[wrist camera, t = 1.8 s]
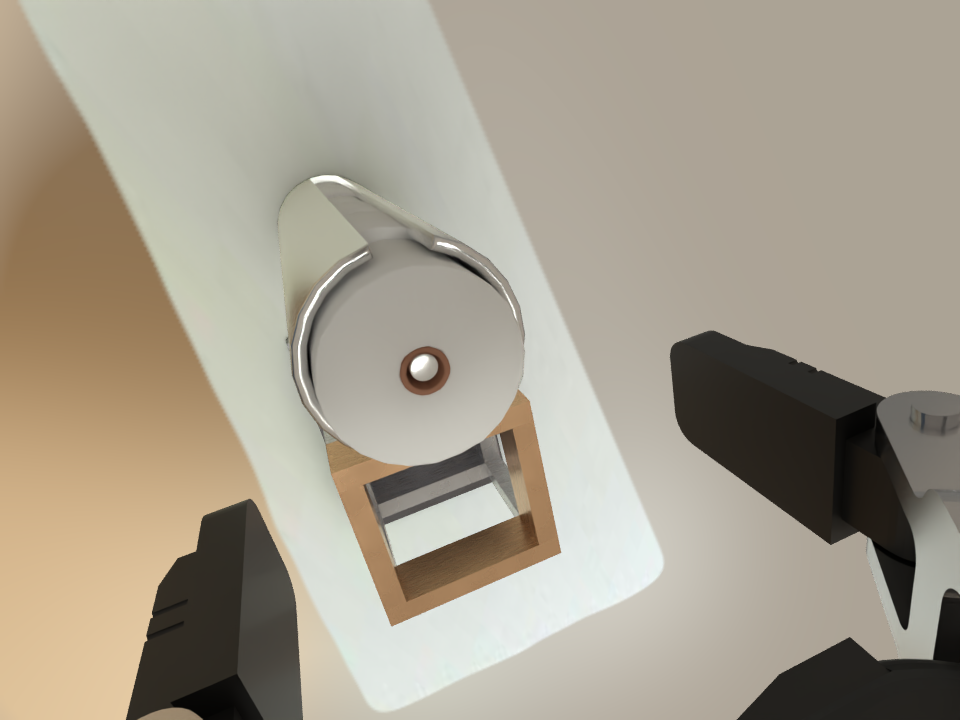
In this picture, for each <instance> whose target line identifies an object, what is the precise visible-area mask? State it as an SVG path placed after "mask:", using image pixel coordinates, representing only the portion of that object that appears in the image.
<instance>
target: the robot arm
mask: <svg viewBox="0 0 960 720" xmlns="http://www.w3.org/2000/svg"><path fill="white" fill-rule="evenodd" d="M670 360H671V371H672V382H673V393H674V404H675V413H676V418H677V422H678V425H679V427H680V429H681V431H682V433H683V434H684V435H685V437H686V438H687V439H688V440H689V441H690V442H691V443H692V444H693V445H694V446H696V447H697V448H699V449H700V450H701V451H703V452H704V453H705V454H707V455H708V456H710V457H711V458H712V459H714V460H715V461H716V462H718V463H719V464H721V465H722V466H723V467H725V468H726V469H727V470H729V471H730V472H731V473H733V474H734V475H736V476H737V477H739V478H740V479H741V480H742V481H744V482H745V483H747V484H748V485H749V486H751V487H752V488H753V489H755V490H756V491H758V492H759V493H760V494H762V495H763V496H764V497H766V498H767V499H769V500H770V501H771V502H773V503H774V504H775V505H777V506H778V507H780V508H781V509H782V510H784V511H785V512H786V513H788V514H789V515H790V516H792V517H793V518H795V519H796V520H797V521H799V522H800V523H801V524H803V525H804V526H806V527H807V528H808V529H810V530H811V531H812V532H814V533H815V534H816V535H818V536H819V537H821V538H822V539H823V540H825V541H826V542H827V543H829V544H830V545H832V544H834V543H836V542H838V541H840V540H842V539H844V538H846V537H848V536H850V535H852V534H855V533H857V532H859V531H860V532H861V533H862V534H864V535H866V536H867V546H866V554H867V558H868V561H869V564H870V567H871V570H872V573H873V576H874V580H875V583H876V586H877V589H878V592H879V595H880V598H881V601H882V605H883V608H884V611H885V614H886V617H887V620H888V623H889V626H890V629H891V632H892V636H893V638H894V642H895V645H896V648H897V652H898V656H899V659H892V660H881V661H877V660H876V659H875V658H873V657H872V656H871V655H870V654H869V653H868V652H867V651H865V650H864V649H863V648H862V647H861V646H860V645H858V644H857V643H856V642H855V641H854V640H853V639H852V638H850V637H849V638H847V639H846V640H844V641H842V642H840V643H838V644H836V645H834V646H832V647H830V648H828V649H827V650H825V651H823V652H821V653H819V654H817V655H815V656H813V657H811V658H809V659H808V660H806V661H804V662H802V663H800V664H798V665H796V666H794V667H792V668H790V669H789V670H787V671H785V672H783V673H781V674H779V675H778V676H777V678H776V679H775V680H774V681H773V682H772V683H771V684H770V685H769V686H768V687H767V688H766V689H765V690H764V691H763V693H762V694H761V695H760V696H759V697H758V698H757V699H756V700H755V701H754V702H753V703H752V704H751V705H750V706H749V707H748V708H747V709H746V710H745V712H744V713H743V714H742V715H741V716H740V717H739V718H738V719H737V720H960V395H956V394H951V393H945V392H938V391H910V392H903V393H898V394H895V395H892V396H889V397H888V398H885V397H882V396H880V395H877V394H876V393H873V392H871V391H869V390H866V389H864V388H862V387H859V386H857V385H854V384H852V383H850V382H847V381H845V380H843V379H840V378H838V377H836V376H833V375H831V374H829V373H826V372H824V371H817V370H816V368H814V367H812V366H810V365H808V364H805V363H803V362H800V363H798V362H797V360H795V359H794V358H791V357H789V356H786V355H784V354H782V353H779V352H777V351H775V350H772V349H766V348H760V347H754V346H749V345H745V344H743V343H741V342H738V341H736V340H734V339H732V338H729V337H727V336H725V335H722V334H720V333H718V332H716V331H707V332H704V333H701V334H699V335H696V336H693V337H691V338H688V339H685V340H682V341H680V342H677V343H675V344H674V345H673V346H672V348H671V353H670ZM152 615H153V618H151V619H150V623H149V627H148V631H147V635H146V636H147V641H146V642H145V643H144V648H143V652H142V656H141V660H140V664H139V668H138V673H137V676H136V681H135V685H134V689H133V693H132V697H131V701H130V705H129V709H128V714H127V717H126V720H303V713H302V696H301V679H300V663H299V647H298V631H297V630H298V629H297V613H296V601H295V595H294V591H293V587H292V583H291V580H290V577H289V574H288V571H287V569H286V567H285V564H284V562H283V560H282V558H281V556H280V554H279V552H278V550H277V548H276V545H275V543H274V541H273V539H272V537H271V535H270V533H269V531H268V529H267V526H266V524H265V522H264V520H263V518H262V516H261V514H260V512H259V510H258V508H257V506H256V504H255V503H254V502H253V501H252V500H251V499H248V500H245V501H242V502H240V503H237V504H234V505H231V506H229V507H226V508H224V509H221V510H218V511H216V512H213V513H210V514H207V515H205V516H204V517H203V518H202V521H201V527H200V533H199V539H198V545H197V550H196V552H193V553H191V554H188V555H185V556H182V557H180V558H178V559H177V560H176V562H175V563H174V565H173V566H172V567H171V569H170V570H169V572H168V573H167V575H166V576H165V577H164V579H163V580H162V582H161V583H160V585H159V586H158V590H157V594H156V598H155V602H154V606H153V611H152Z"/></svg>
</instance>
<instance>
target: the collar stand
mask: <svg viewBox="0 0 960 720" xmlns="http://www.w3.org/2000/svg"><path fill="white" fill-rule="evenodd" d="M286 343H287V346H288V349H289V340H288V339H286ZM289 351H290V350H289ZM318 426H319V425H318ZM319 428H320V427H319ZM320 431H321V433H322V436H323V438H324V441H325V444H326V449H327V454H328V460H329V465H330V470H331V475H332V477H333V480H334V482H335V485H336V488H337V490H338V493H339V495H340V498H341V500H342V503H343V505H344V508H345V510H346V513H347V515H348V518H349V520H350V523H351V525H352V528H353V530H354V533H355V536H356V538H357V541H358V543H359V546H360V548H361V551H362V553H363V556H364V558H365V561H366V563H367V566H368V568H369V571H370V573H371V576H372V579H373V581H374V584H375V586H376V589H377V591H378V594H379V596H380V599H381V601H382V604H383V606H384V609H385V611H386V614H387V616H388V619H389V621H390V624H391V626H394V625H396V624H398V623H401V622H403V621H405V620H408V619H410V618H412V617H414V616H417V615H419V614H421V613H424V612H426V611H428V610H431V609H433V608H435V607H437V606H440V605H442V604H444V603H447V602H449V601H451V600H454V599H456V598H458V597H460V596H463V595H465V594H467V593H470V592H472V591H474V590H477V589H479V588H481V587H483V586H486V585H488V584H490V583H493V582H495V581H497V580H500V579H502V578H504V577H506V576H509V575H511V574H513V573H516V572H518V571H520V570H523V569H525V568H527V567H529V566H532V565H534V564H536V563H539V562H541V561H543V560H546V559H548V558H550V557H552V556H555V555H557V554H559V553H561V550H560V545H559V540H558V535H557V531H556V526H555V521H554V516H553V511H552V507H551V502H550V497H549V492H548V487H547V483H546V478H545V473H544V468H543V463H542V459H541V454H540V449H539V444H538V439H537V435H536V430H535V425H534V420H533V415H532V411H531V406H530V401H529V400H528V399H527V398H526V397H525V396H524V395H523V394H522V393H521V392H520V391H519V390H517V393H516V396H515V398H514V400H513V402H512V404H511V406H510V407H509V409H508V411H507V412H506V414H505V416H504V417H503V419H502V421H501V422H500V423H499V424H498V425H497V426H496V427H495V428H494V430H493V431H492V432H491V433H490V434H489V435H488V436H487V437H486V438H485V439H484V440H483V441H481V442H480V443H478V444H476V445H474V446H473V447H471V448H469V449H468V450H466V451H464V452H462V453H461V454H458V455H456V456H453V457H450V458H448V459H445V460H443V461H440V462H438V463H432V464H424V465H416V466H404V465H396V464H387V463H383V462H380V461H378V460H375V459H372V458H370V457H367V456H364V455H362V454H360V453H359V452H357V451H356V450H354V449H352V448H349V447H347V446H344V445H343V444H341V443H340V442H339V441H337V440H336V439H335V438H333V437H332V436H331V435H329V434H328V433H327V432H325V431H324V430H323V429H321V428H320ZM499 433H500V436H501V441H502V445H503V449H504V453H505V457H506V462H507V466H508V467H507V466H506V464H505V463H504V461H503V460H502V456H501V452H500V447H499V443H498V439H497V434H499ZM491 482H492V483H493V484H494V486H495V487H496V489H497V491H498V492H499V494H500V495H501V497H502V498H503V500H504V501H505V503H506V505H507V506H508V508H509V509H510V511H511V512H512V514H513V515H514V518H511V519H509V520H507V521H504V522H502V523H499V524H497V525H494V526H492V527H490V528H487V529H485V530H482V531H480V532H478V533H475V534H473V535H470V536H468V537H465V538H463V539H461V540H458V541H456V542H453V543H451V544H448V545H446V546H444V547H441V548H439V549H436V550H434V551H432V552H429V553H427V554H424V555H422V556H419V557H417V558H415V559H412V560H410V561H407V562H405V563H402V564H400V565H398V566H397V565H396V561H395V558H394V555H393V551H392V548H391V545H390V541H389V538H388V535H387V531H386V528H385V524H388V523H390V522H393V521H395V520H398V519H400V518H403V517H405V516H408V515H410V514H413V513H415V512H418V511H420V510H423V509H425V508H428V507H430V506H433V505H436V504H438V503H441V502H443V501H446V500H448V499H451V498H453V497H456V496H458V495H461V494H463V493H466V492H468V491H471V490H473V489H476V488H478V487H481V486H483V485H486V484H489V483H491Z"/></svg>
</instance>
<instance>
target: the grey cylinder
mask: <svg viewBox="0 0 960 720" xmlns="http://www.w3.org/2000/svg"><path fill="white" fill-rule="evenodd" d="M277 225H278V239H279V249H280V259H281V269H282V279H283V289H284V300H285V310H286V320H287V330H288V340H289V350H290V360H291V370H292V377H293V380H294V382H295V385H296V388H297V391H298V393H299V396H300V399H301V401H302V404H303V405H304V407H305V408H306V409H307V411H308V412H309V413H310V415H311V416H312V417H313V419H314V420H315V421H316V423H317V424H318V425H319V427H320V428H321V429H323V430H324V431H325V432H327V433H328V434H329V435H331V436H332V437H333V438H335V439H336V440H337V441H339V442H340V443H341V444H343V445H344V446H347V447H349V448H352V449H354V450H356V451H357V452H359V453H360V454H362V455H364V456H367V457H370V458H372V459H375V460H378V461H380V462H383V463H387V464H396V465H404V466H416V465H424V464H432V463H438V462H440V461H443V460H445V459H448V458H450V457H453V456H456V455H458V454H461V453H462V452H464V451H466V450H468V449H469V448H471V447H473V446H474V445H476V444H478V443H480V442H481V441H483V440H484V439H485V438H486V437H487V436H488V435H489V434H490V433H491V432H492V431H493V430H494V428H495V427H496V426H497V425H498V424H499V423H500V422H501V421H502V419H503V417H504V416H505V414H506V412H507V411H508V409H509V407H510V406H511V404H512V402H513V400H514V398H515V396H516V393H517V390H518V388H519V385H520V383H521V380H522V377H523V368H524V355H525V350H524V337H525V332H524V327H523V321H522V315H521V310H520V306H519V303H518V301H517V299H516V297H515V295H514V293H513V291H512V289H511V287H510V285H509V283H508V281H507V279H506V278H505V277H504V276H503V275H502V274H501V273H500V271H499V270H498V269H497V268H496V267H495V266H494V265H493V264H492V263H491V261H490V260H489V259H488V258H486V257H485V256H483V255H481V254H480V253H478V252H477V251H475V250H473V249H472V248H470V247H469V246H467V245H465V244H464V243H462V242H460V241H459V240H457V239H455V238H453V237H451V236H450V235H448V234H446V233H444V232H443V231H441V230H439V229H437V228H435V227H434V226H432V225H430V224H428V223H427V222H425V221H423V220H421V219H419V218H418V217H416V216H414V215H412V214H411V213H409V212H407V211H405V210H403V209H402V208H400V207H398V206H396V205H395V204H393V203H391V202H389V201H387V200H386V199H384V198H382V197H380V196H379V195H377V194H375V193H373V192H371V191H370V190H368V189H366V188H364V187H362V186H361V185H359V184H357V183H355V182H354V181H352V180H349V179H346V178H343V177H340V176H330V175H322V176H318V177H313V178H309V179H307V180H306V181H304V182H302V183H300V184H298V185H297V186H296V187H295V188H294V189H293V190H292V191H291V192H290V193H289V194H288V195H287V196H286V198H285V200H284V202H283V204H282V205H281V207H280V211H279V216H278V221H277Z"/></svg>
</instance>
